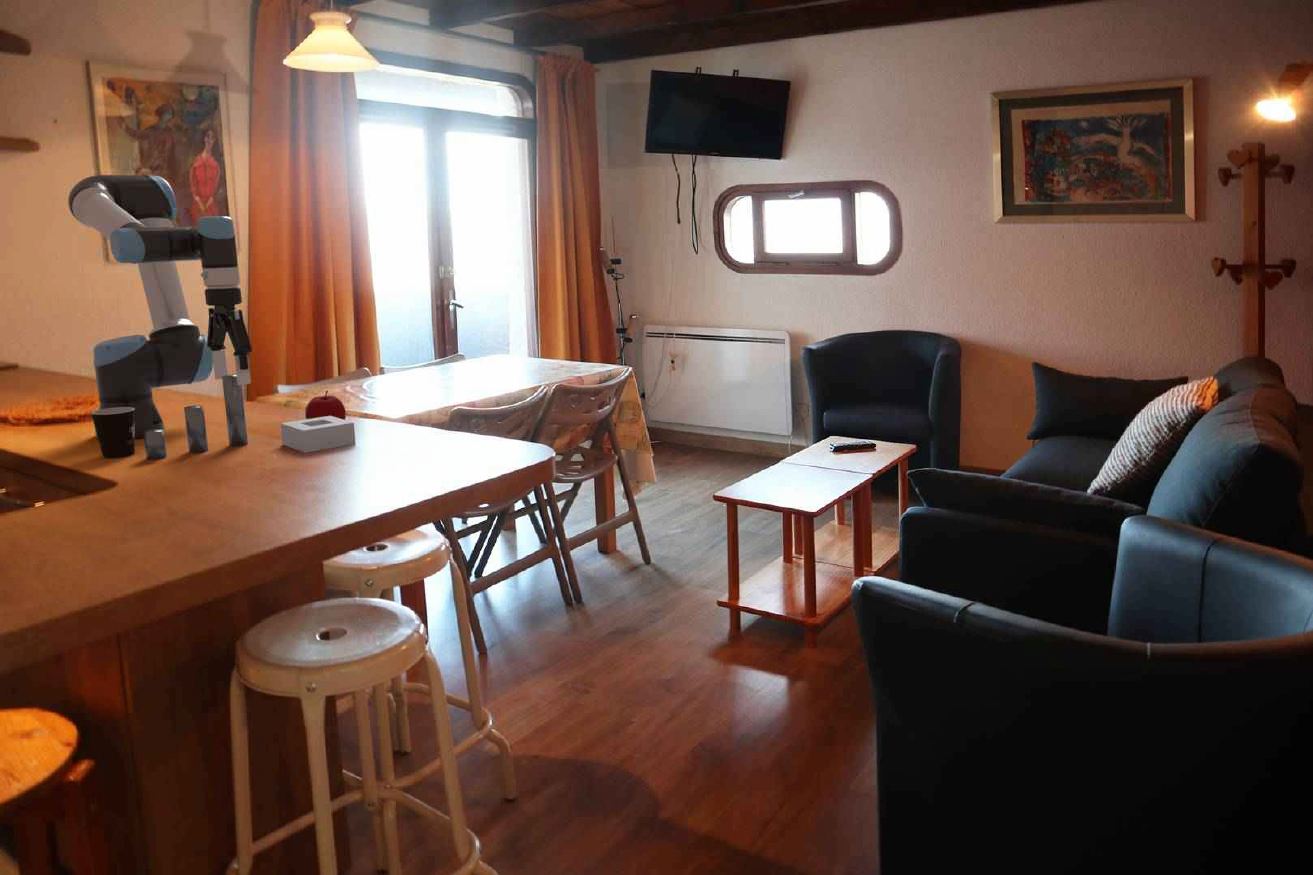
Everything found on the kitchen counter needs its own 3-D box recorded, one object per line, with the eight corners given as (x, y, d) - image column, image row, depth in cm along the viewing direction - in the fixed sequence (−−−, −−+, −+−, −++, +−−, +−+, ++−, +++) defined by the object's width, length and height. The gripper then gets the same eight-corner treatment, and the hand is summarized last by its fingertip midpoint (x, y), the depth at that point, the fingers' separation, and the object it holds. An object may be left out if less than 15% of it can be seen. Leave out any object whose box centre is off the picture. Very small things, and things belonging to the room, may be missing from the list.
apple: (341, 425, 267) (337, 385, 264) (351, 431, 259) (348, 390, 257) (303, 430, 262) (299, 389, 260) (312, 436, 254) (308, 394, 252)
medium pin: (186, 450, 241) (181, 407, 239) (204, 448, 244) (199, 404, 242) (192, 453, 239) (187, 409, 236) (211, 450, 241) (206, 406, 239)
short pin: (144, 457, 236) (140, 430, 234) (163, 454, 238) (160, 428, 237) (150, 460, 233) (146, 433, 231) (169, 457, 235) (166, 430, 234)
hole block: (282, 444, 246) (280, 423, 245) (332, 436, 254) (330, 415, 253) (305, 452, 237) (303, 430, 236) (355, 444, 245) (353, 422, 244)
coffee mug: (122, 460, 234) (117, 414, 232) (88, 459, 235) (82, 414, 233) (157, 448, 245) (152, 405, 243) (123, 447, 247) (118, 404, 244)
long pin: (226, 444, 247) (219, 375, 244) (243, 441, 250) (236, 373, 247) (233, 447, 244) (226, 377, 241) (250, 444, 247) (243, 375, 244)
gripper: (185, 286, 246) (196, 378, 250) (226, 289, 228) (237, 388, 232) (218, 284, 251) (228, 374, 255) (261, 287, 233) (271, 384, 237)
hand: (232, 381), depth 244 cm, fingers open, 13 cm apart
